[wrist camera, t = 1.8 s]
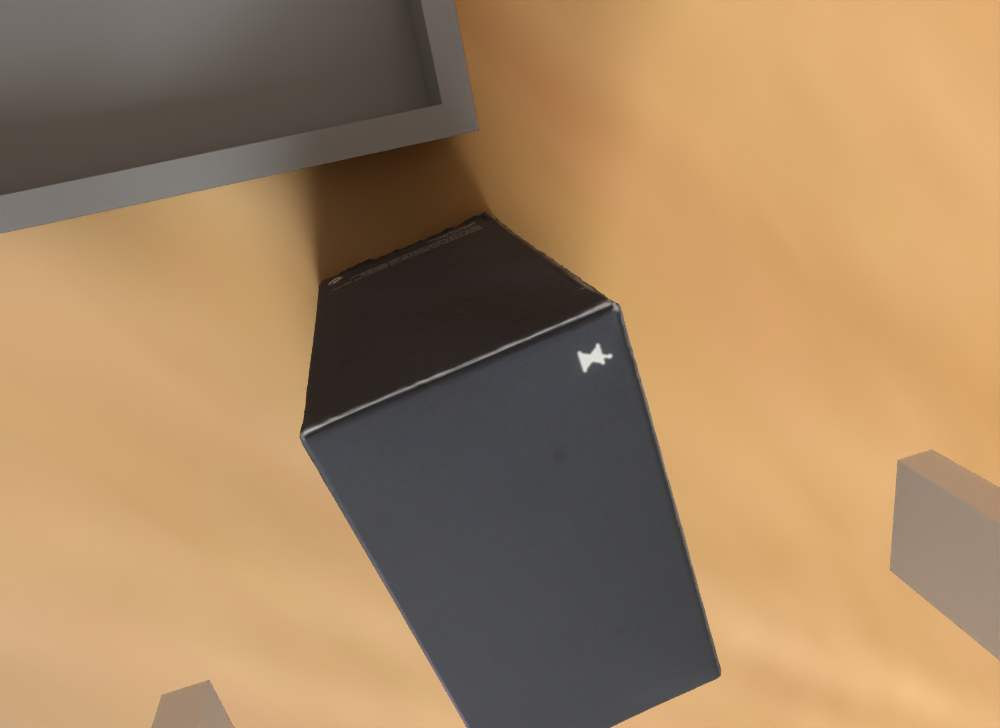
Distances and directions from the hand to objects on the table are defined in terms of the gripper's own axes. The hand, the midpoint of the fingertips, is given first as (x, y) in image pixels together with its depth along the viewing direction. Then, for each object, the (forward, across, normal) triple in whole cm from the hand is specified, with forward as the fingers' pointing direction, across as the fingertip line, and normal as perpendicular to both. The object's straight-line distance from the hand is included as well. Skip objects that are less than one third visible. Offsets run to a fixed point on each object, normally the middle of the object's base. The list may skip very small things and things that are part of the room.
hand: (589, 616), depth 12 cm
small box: (+12, -1, 0) cm, 12 cm away
